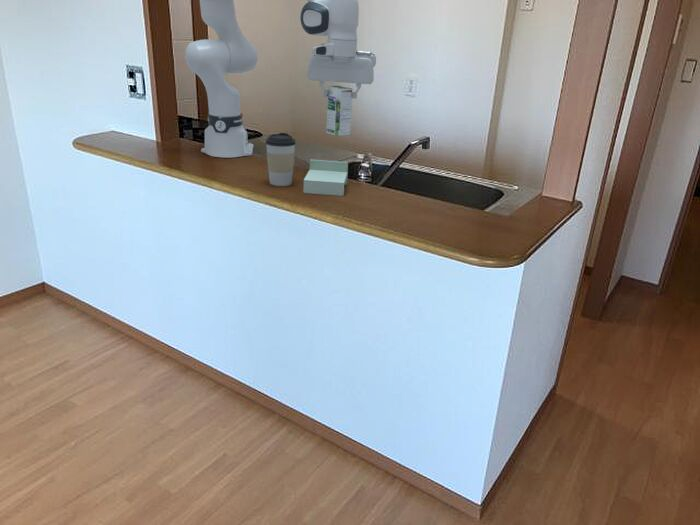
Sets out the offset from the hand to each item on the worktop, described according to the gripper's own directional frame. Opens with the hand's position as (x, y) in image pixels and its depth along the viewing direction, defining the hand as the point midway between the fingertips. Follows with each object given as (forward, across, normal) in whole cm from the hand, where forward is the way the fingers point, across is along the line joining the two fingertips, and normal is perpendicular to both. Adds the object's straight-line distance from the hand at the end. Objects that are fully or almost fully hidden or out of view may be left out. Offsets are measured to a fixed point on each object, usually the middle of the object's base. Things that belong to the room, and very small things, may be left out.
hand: (339, 97), depth 171 cm
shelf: (+26, +2, +13) cm, 29 cm away
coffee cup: (+26, +16, +10) cm, 32 cm away
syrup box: (+12, 0, 0) cm, 12 cm away
